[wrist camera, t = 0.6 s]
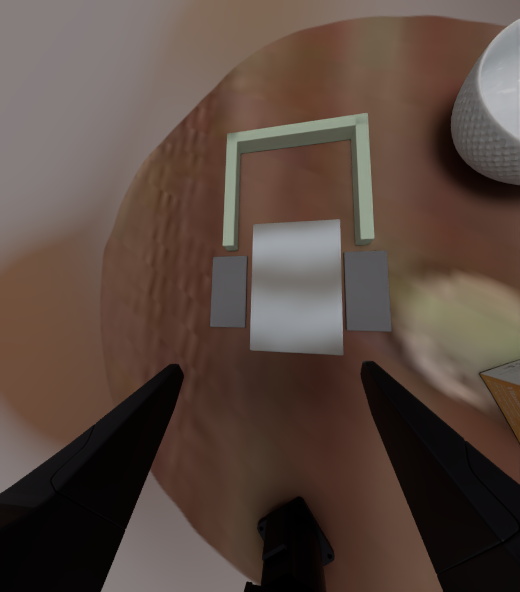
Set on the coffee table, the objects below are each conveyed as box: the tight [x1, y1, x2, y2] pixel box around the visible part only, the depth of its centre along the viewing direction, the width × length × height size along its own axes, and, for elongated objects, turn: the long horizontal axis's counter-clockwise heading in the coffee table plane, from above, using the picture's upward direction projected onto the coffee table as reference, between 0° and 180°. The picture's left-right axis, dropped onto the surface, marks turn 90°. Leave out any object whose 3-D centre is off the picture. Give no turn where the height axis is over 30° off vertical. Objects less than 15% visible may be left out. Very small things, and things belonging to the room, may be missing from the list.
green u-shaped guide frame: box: [210, 113, 391, 331], centre depth 25 cm, size 28×23×2 cm
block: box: [250, 219, 343, 355], centre depth 21 cm, size 12×8×8 cm, turn 179°
